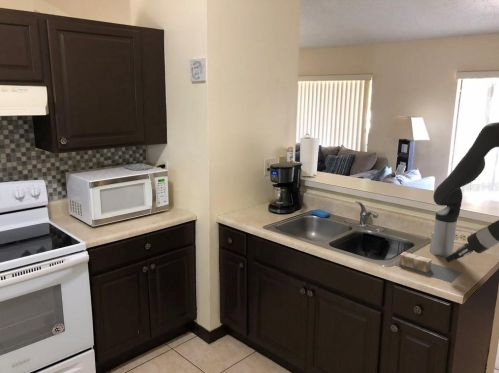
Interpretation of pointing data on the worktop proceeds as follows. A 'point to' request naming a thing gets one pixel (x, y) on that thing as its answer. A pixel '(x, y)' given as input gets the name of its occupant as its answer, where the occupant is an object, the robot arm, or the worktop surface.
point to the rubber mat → (437, 272)
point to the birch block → (415, 261)
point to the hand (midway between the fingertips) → (446, 260)
